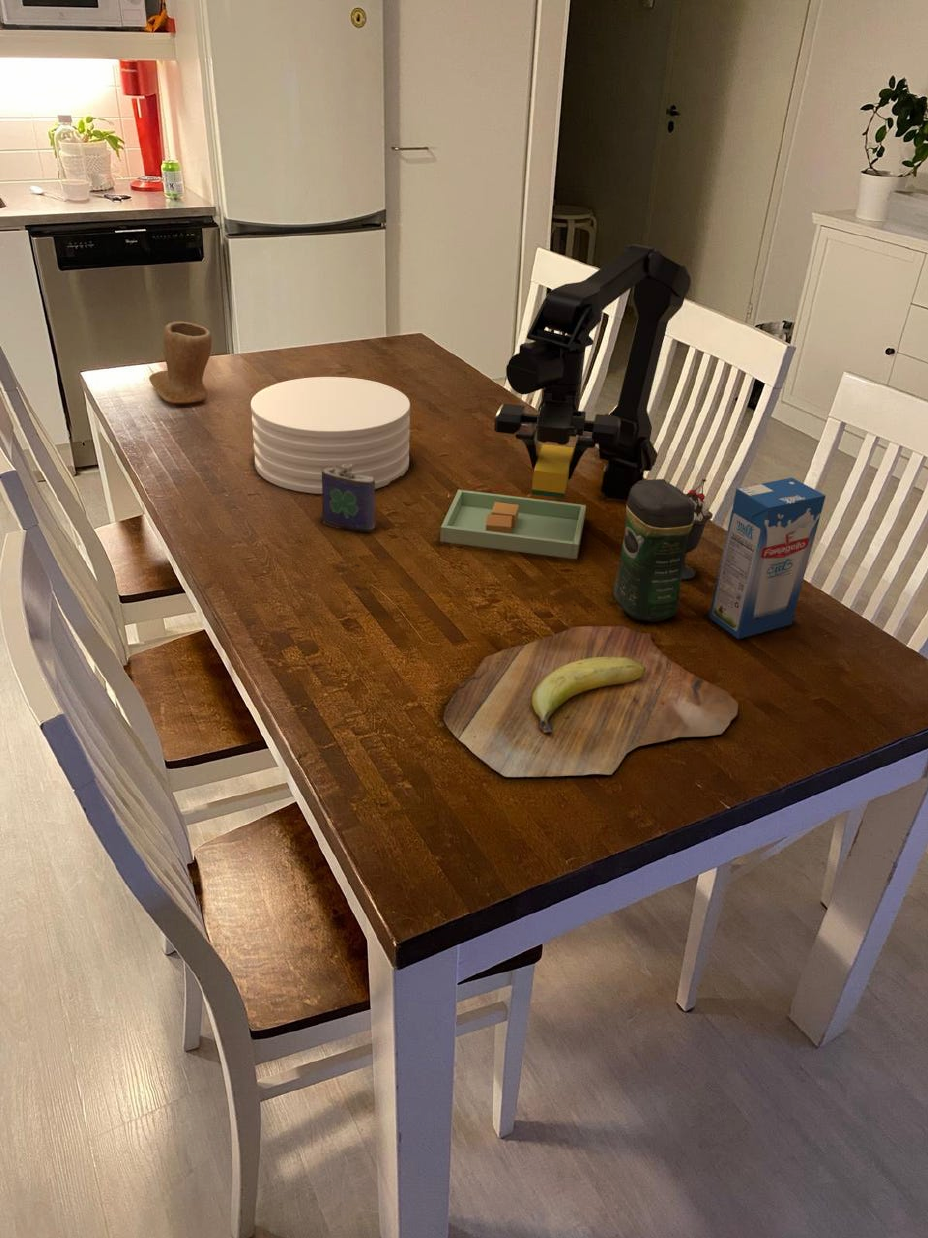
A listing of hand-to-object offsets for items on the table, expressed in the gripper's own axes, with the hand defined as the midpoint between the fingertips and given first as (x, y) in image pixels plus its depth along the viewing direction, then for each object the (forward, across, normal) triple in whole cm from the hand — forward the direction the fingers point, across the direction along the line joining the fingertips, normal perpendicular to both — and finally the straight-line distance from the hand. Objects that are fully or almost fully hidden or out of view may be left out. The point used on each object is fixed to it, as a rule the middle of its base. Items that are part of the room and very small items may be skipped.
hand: (552, 476), depth 153 cm
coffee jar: (+11, +16, -18) cm, 27 cm away
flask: (+11, -32, -6) cm, 34 cm away
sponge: (+1, 0, 0) cm, 1 cm away
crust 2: (+10, -8, -3) cm, 13 cm away
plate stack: (+10, -42, +18) cm, 47 cm away
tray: (+10, -5, -1) cm, 12 cm away
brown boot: (+11, -82, +43) cm, 93 cm away
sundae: (+10, +21, -6) cm, 25 cm away
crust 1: (+10, -7, +2) cm, 12 cm away
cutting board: (+11, +10, -44) cm, 46 cm away
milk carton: (+10, +31, -18) cm, 38 cm away
